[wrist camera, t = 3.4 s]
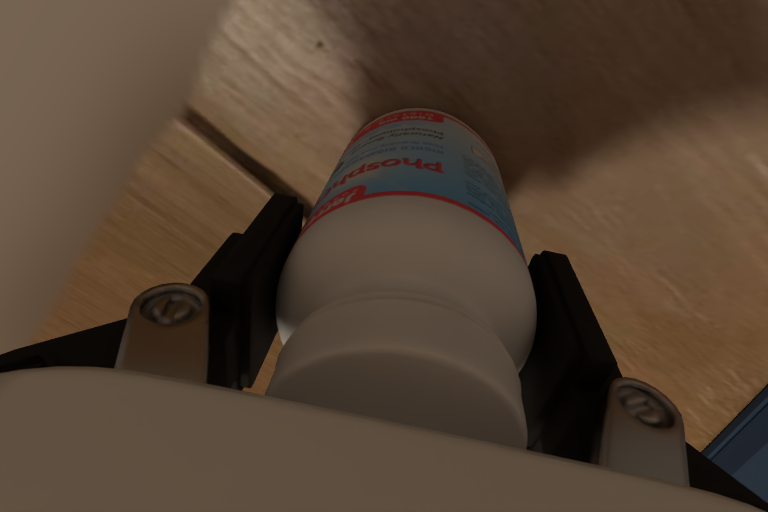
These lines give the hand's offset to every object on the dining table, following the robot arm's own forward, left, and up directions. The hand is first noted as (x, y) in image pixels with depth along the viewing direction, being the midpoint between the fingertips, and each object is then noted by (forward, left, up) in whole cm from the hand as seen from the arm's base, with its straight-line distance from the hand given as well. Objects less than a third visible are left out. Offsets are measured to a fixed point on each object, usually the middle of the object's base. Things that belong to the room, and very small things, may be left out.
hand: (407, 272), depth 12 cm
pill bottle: (0, 0, -6) cm, 6 cm away
